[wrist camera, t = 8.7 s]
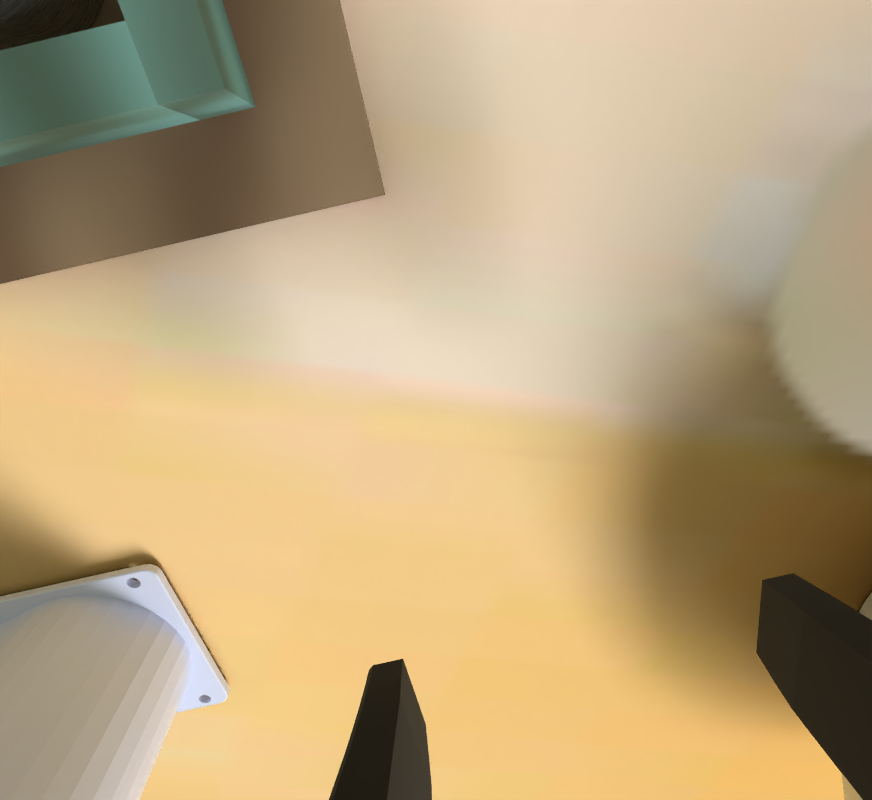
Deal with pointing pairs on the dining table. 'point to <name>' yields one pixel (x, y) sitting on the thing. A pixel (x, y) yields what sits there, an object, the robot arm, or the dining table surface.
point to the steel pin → (45, 19)
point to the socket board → (176, 128)
